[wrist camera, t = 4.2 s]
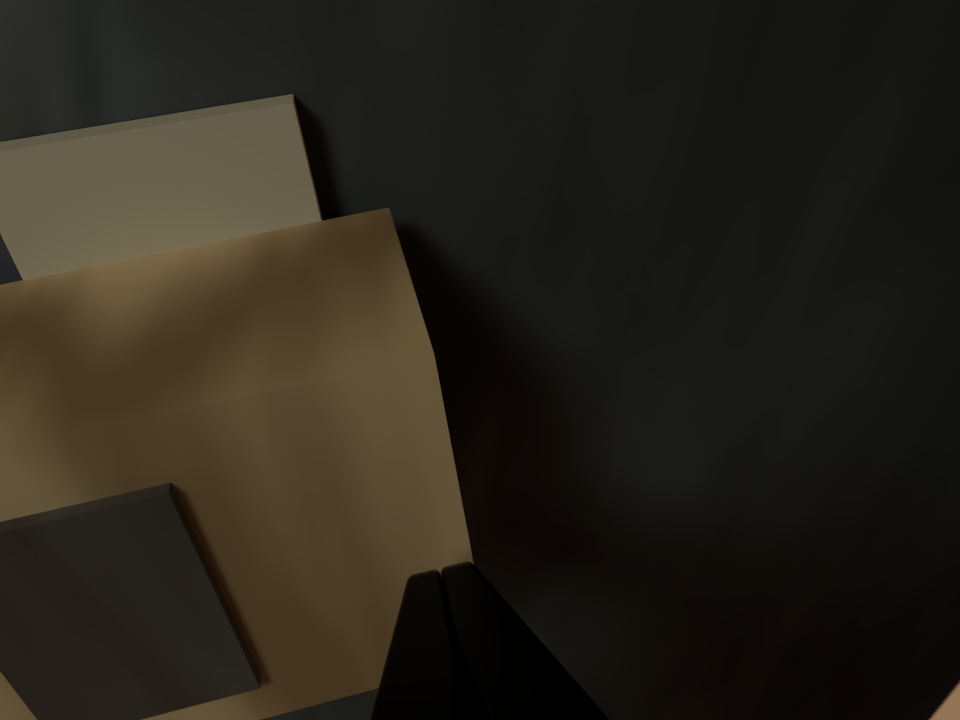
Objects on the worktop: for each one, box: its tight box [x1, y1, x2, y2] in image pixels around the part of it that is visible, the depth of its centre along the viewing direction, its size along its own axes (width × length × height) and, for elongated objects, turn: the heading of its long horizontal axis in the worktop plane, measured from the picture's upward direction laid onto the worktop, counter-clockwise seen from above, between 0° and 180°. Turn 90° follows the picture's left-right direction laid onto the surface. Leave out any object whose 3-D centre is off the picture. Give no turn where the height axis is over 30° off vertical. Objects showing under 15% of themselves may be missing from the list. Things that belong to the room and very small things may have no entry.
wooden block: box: [0, 208, 474, 720], centre depth 13 cm, size 5×6×9 cm
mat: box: [0, 94, 323, 280], centre depth 15 cm, size 5×10×1 cm, turn 7°
